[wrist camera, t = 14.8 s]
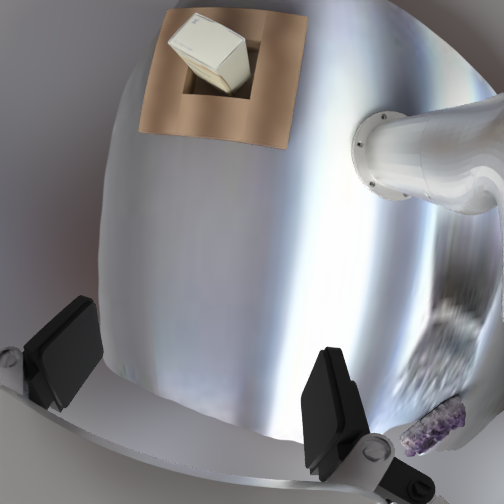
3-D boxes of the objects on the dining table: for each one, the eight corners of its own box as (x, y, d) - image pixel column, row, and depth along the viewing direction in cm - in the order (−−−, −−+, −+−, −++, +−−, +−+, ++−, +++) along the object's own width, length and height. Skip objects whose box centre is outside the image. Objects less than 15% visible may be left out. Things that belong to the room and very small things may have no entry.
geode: (447, 389, 47) (466, 415, 38) (461, 393, 50) (477, 416, 41) (391, 438, 53) (403, 465, 44) (410, 438, 56) (422, 462, 47)
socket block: (304, 32, 28) (308, 17, 23) (284, 149, 34) (286, 148, 29) (178, 23, 28) (167, 9, 23) (154, 134, 34) (138, 131, 29)
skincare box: (196, 75, 30) (163, 43, 18) (217, 51, 29) (194, 10, 17) (232, 99, 31) (213, 72, 19) (254, 75, 30) (246, 38, 18)
